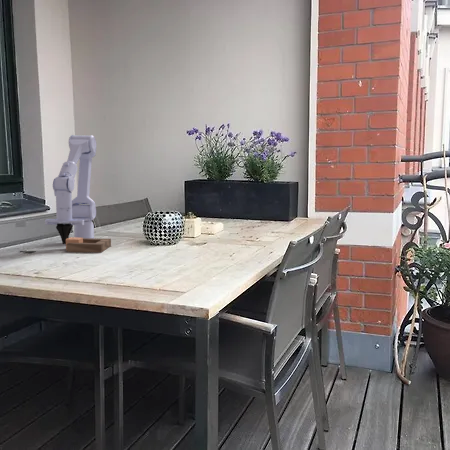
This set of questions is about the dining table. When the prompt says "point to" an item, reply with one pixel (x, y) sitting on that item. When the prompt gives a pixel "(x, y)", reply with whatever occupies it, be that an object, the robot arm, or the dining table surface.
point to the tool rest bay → (90, 245)
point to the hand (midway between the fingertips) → (65, 243)
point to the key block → (74, 240)
